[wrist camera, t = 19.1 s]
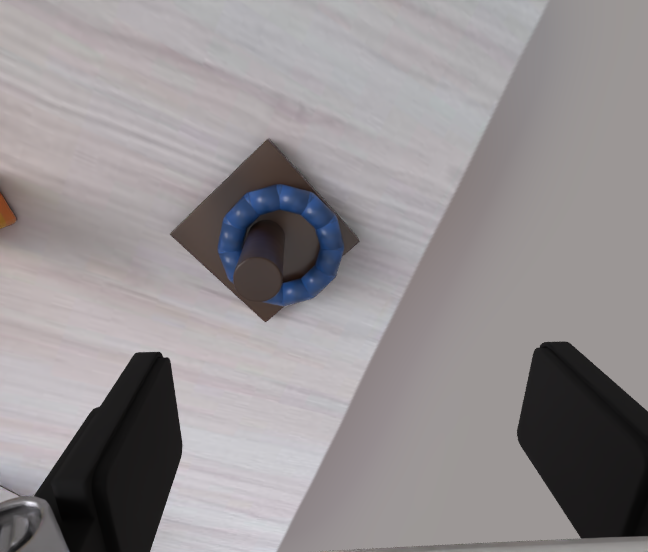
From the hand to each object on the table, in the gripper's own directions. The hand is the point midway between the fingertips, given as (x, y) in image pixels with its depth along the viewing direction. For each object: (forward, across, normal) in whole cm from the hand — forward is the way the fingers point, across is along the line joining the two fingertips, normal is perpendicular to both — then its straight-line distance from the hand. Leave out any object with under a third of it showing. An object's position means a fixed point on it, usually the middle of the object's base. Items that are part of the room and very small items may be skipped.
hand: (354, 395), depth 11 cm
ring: (+15, +2, +1) cm, 16 cm away
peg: (+17, +3, 0) cm, 17 cm away
